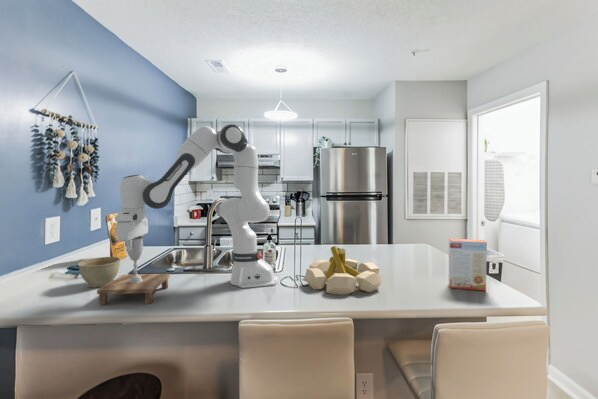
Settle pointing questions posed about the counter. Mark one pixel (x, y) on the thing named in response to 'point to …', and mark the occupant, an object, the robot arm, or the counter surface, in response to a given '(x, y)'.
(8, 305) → the counter surface
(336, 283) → the campfire
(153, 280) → the stool
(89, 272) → the planter bowl
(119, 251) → the pancake mix bag
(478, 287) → the cracker box
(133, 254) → the chalice
